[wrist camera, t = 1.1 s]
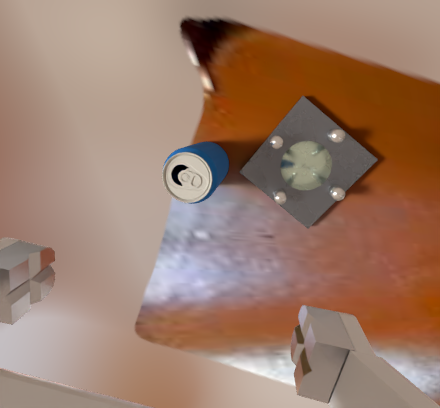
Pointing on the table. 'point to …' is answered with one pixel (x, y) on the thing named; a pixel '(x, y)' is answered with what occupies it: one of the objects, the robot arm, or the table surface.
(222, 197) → the table surface
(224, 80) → the table surface
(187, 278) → the table surface
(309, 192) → the plate
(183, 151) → the beverage can
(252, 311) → the table surface
